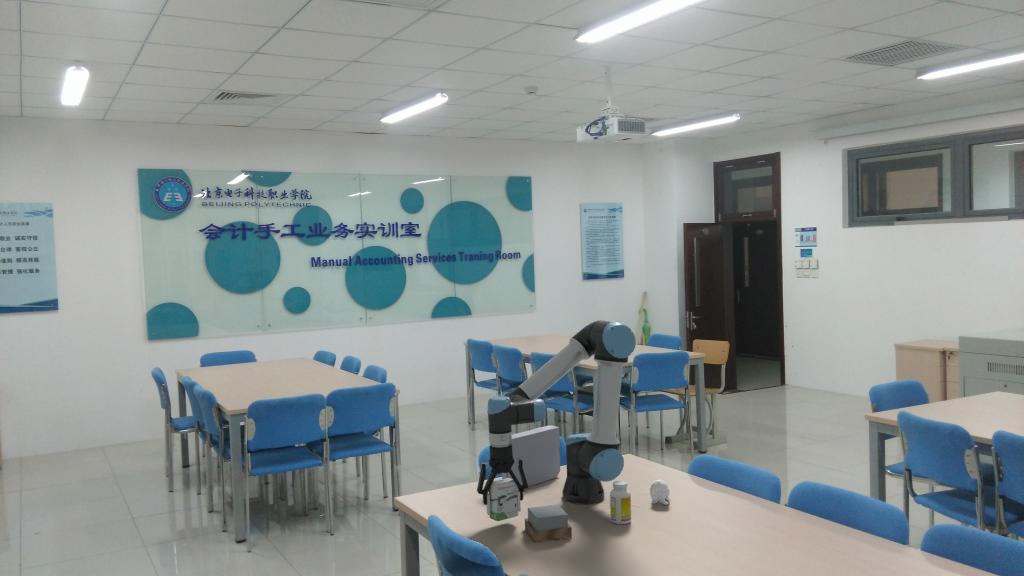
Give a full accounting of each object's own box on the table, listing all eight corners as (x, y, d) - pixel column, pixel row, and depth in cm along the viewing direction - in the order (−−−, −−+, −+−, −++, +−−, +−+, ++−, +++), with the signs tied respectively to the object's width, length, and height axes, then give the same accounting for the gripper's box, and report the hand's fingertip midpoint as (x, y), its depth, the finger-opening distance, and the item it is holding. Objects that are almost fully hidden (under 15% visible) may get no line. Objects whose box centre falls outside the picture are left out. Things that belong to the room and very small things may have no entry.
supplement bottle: (633, 519, 251) (632, 481, 251) (627, 526, 245) (627, 486, 245) (614, 516, 254) (613, 479, 253) (608, 523, 248) (607, 484, 247)
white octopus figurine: (648, 480, 264) (655, 474, 276) (648, 505, 264) (655, 498, 275) (666, 482, 262) (673, 475, 273) (666, 507, 262) (673, 499, 273)
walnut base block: (560, 526, 247) (560, 514, 247) (571, 540, 236) (571, 527, 236) (524, 530, 245) (524, 518, 244) (534, 544, 233) (534, 531, 233)
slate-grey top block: (557, 516, 246) (557, 504, 245) (568, 527, 236) (567, 514, 236) (528, 520, 243) (527, 507, 243) (537, 530, 233) (537, 518, 233)
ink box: (497, 522, 244) (495, 485, 244) (488, 517, 249) (487, 482, 248) (519, 516, 249) (517, 480, 249) (510, 511, 253) (509, 477, 253)
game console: (499, 489, 288) (498, 437, 287) (550, 473, 306) (548, 424, 305) (510, 492, 283) (508, 439, 282) (560, 476, 302) (559, 427, 301)
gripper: (469, 450, 242) (472, 519, 243) (536, 443, 247) (539, 511, 248) (465, 445, 249) (468, 512, 250) (530, 438, 254) (533, 504, 255)
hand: (503, 512), depth 249 cm, fingers closed on ink box, 9 cm apart
